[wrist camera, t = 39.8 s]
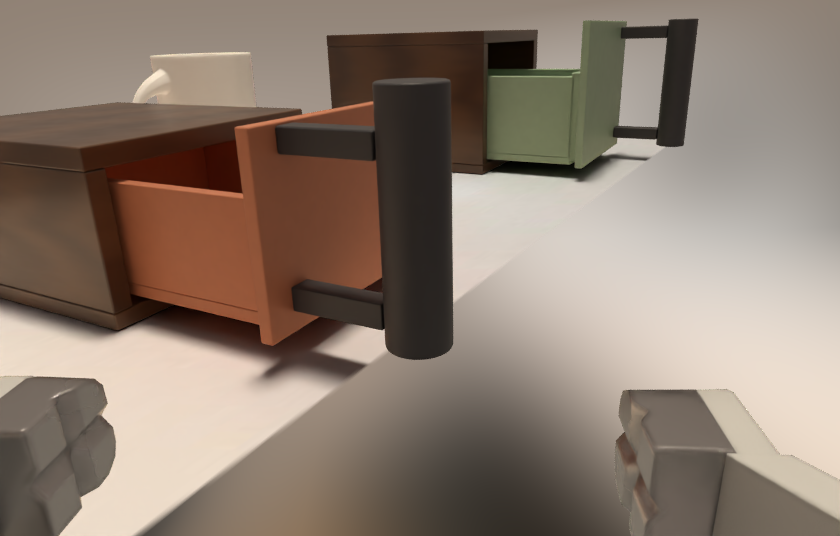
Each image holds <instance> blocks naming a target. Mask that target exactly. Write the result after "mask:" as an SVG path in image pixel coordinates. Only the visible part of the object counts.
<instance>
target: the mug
mask: <svg viewBox="0 0 840 536" xmlns="http://www.w3.org/2000/svg"><path fill="white" fill-rule="evenodd" d="M150 60H151V66H152V72H153V74H152V75H151V76H150V77H149V78H148V79H146V80H145V81H144V82H143V83H142V84H141V86H140V87H139V89H138V90H137V92H136V94H135V96H134V100H133V103H145V102H146V101H147V100H149V99H150V98H151V97H153V96H157V101H158V104H176V105H204V106H233V107H257V104H256V96H255V87H254V78H253V69H252V60H251V53H249V52H227V53H194V54H170V55H155V56H150Z"/></svg>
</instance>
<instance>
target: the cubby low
mask: <svg viewBox="0 0 840 536" xmlns="http://www.w3.org/2000/svg"><path fill="white" fill-rule="evenodd" d="M297 115H302V110H301V109H290V108H262V107H233V106H204V105H176V104H147V103H146V104H145V103H118V102H117V103H109V104H101V105H92V106H83V107H74V108H66V109H57V110H48V111H40V112H31V113H22V114H14V115H5V116H0V298H4V299H7V300H11V301H14V302H18V303H21V304H25V305H29V306H32V307H36V308H39V309H43V310H46V311H50V312H53V313H57V314H61V315H64V316H68V317H71V318H75V319H78V320H82V321H85V322H89V323H93V324H96V325H100V326H103V327H107V328H110V329H114V330H120V329H122V328H125V327H127V326H129V325H131V324H133V323H135V322H138V321H140V320H142V319H144V318H146V317H148V316H151V315H153V314H155V313H157V312H159V311H162V310H164V309H166V308H168V307H170V306H172V305H174V304H170V303H166V302H162V301H158V300H153V299H149V298H145V297H141V296H137V295H133V294H130V289H129V285H128V280H127V275H126V270H125V265H124V260H123V255H122V250H121V245H120V240H119V235H118V230H117V225H116V220H115V215H114V210H113V205H112V200H111V195H110V190H109V185H108V180H107V175H106V170H105V169H103V168H107V167H112V166H116V165H121V164H126V163H131V162H135V161H140V160H145V159H150V158H154V157H159V156H164V155H169V154H173V153H178V152H183V151H188V150H192V149H197V148H202V147H206V146H211V145H216V144H221V143H225V142H230V141H235V140H236V137H235V130H234V129H235V127H237V126H243V125H248V124H253V123H259V122H264V121H270V120H275V119H280V118H286V117H291V116H297Z"/></svg>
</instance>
